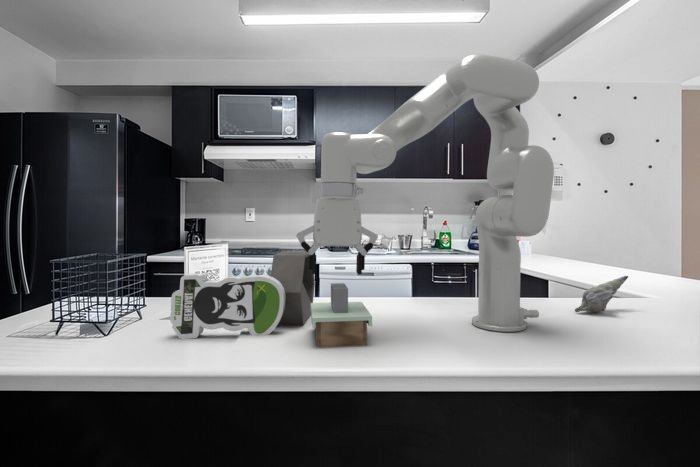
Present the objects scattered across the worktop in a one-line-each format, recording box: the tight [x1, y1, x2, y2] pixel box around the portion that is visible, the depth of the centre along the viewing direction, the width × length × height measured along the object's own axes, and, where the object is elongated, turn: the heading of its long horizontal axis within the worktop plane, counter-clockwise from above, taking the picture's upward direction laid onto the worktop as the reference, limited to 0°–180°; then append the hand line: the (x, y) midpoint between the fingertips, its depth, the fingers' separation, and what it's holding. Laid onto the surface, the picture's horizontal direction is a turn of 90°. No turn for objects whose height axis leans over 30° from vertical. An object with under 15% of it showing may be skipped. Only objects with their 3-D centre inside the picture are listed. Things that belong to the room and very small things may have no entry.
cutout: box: [169, 272, 286, 340], centre depth 86 cm, size 15×3×25 cm
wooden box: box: [314, 320, 368, 348], centre depth 83 cm, size 10×12×6 cm
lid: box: [310, 282, 373, 329], centre depth 83 cm, size 12×14×7 cm
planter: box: [269, 251, 316, 326], centre depth 99 cm, size 17×8×21 cm
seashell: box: [574, 275, 629, 314], centre depth 107 cm, size 10×17×10 cm, turn 89°
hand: (336, 273), depth 83 cm, fingers open, 9 cm apart
